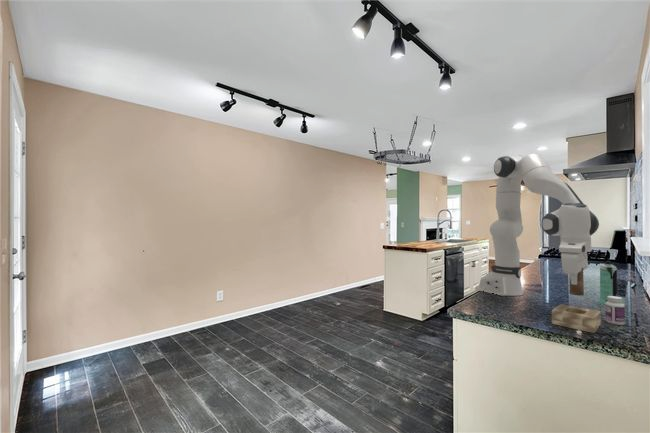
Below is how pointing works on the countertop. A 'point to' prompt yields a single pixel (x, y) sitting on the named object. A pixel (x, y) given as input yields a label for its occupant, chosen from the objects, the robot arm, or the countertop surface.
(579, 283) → the peg
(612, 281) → the spray can
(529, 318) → the countertop surface
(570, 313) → the socket block
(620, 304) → the pill bottle
